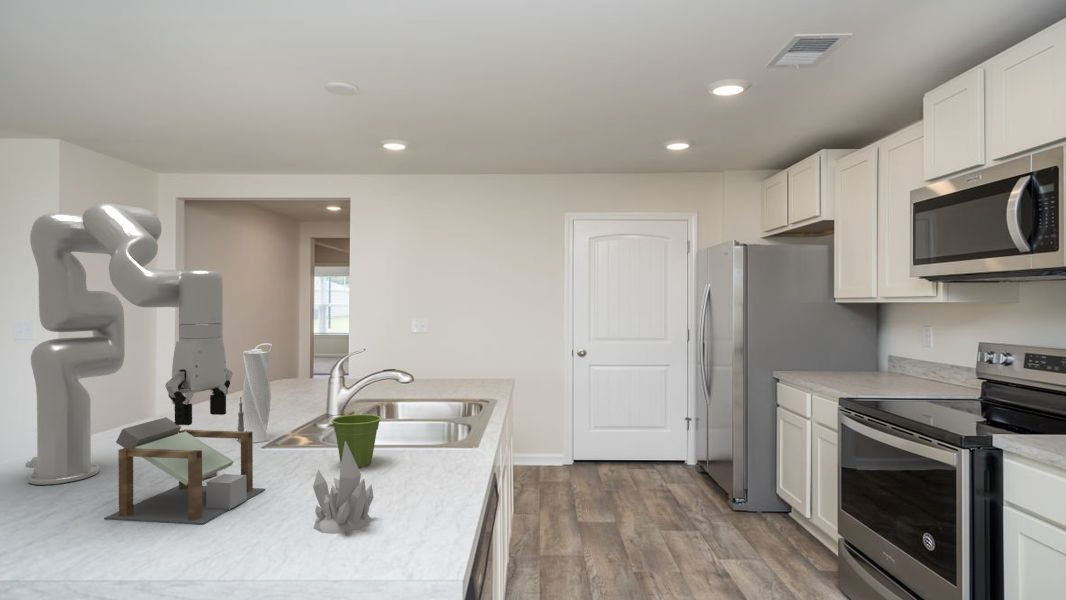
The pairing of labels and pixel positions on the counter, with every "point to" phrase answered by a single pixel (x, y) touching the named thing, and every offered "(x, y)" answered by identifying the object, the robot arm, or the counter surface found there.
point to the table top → (173, 508)
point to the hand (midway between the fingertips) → (201, 419)
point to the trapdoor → (172, 447)
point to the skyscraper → (255, 395)
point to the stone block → (226, 491)
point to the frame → (193, 469)
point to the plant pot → (357, 436)
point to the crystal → (343, 499)
